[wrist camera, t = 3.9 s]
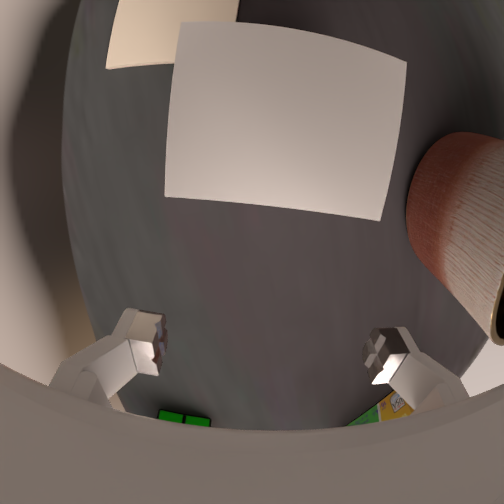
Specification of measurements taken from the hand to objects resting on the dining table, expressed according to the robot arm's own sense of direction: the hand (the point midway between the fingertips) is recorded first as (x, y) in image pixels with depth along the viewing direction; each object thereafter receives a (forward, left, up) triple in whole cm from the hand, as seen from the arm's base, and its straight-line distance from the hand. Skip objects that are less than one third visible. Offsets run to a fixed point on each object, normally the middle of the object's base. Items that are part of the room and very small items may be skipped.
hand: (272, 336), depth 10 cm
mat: (-19, -10, -18) cm, 28 cm away
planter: (-4, +24, -18) cm, 30 cm away
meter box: (-8, 0, -18) cm, 20 cm away
